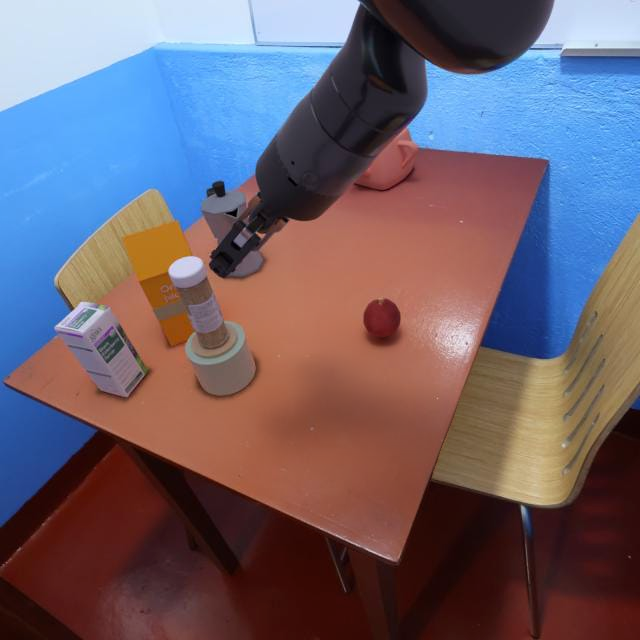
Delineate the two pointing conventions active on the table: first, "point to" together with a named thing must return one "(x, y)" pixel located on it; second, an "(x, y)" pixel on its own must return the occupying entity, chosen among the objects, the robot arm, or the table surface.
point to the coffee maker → (228, 221)
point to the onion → (381, 317)
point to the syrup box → (102, 348)
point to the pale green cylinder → (222, 362)
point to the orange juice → (161, 275)
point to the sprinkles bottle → (199, 301)
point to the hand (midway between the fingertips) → (239, 247)
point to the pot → (391, 163)
